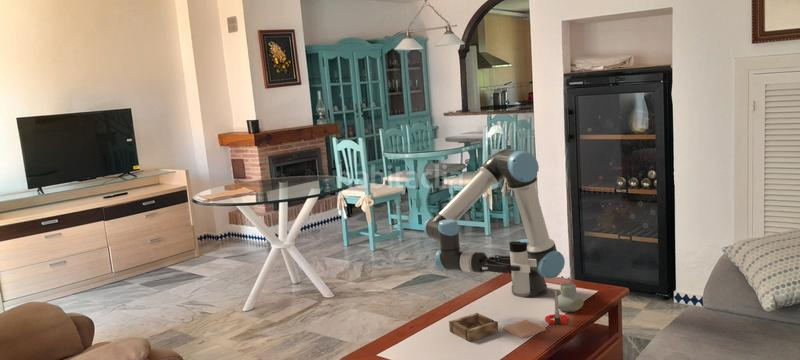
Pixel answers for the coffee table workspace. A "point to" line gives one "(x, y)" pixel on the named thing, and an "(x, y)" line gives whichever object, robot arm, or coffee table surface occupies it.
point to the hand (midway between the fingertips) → (532, 265)
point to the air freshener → (569, 298)
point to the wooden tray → (483, 330)
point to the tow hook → (556, 314)
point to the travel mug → (519, 278)
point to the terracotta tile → (524, 328)
